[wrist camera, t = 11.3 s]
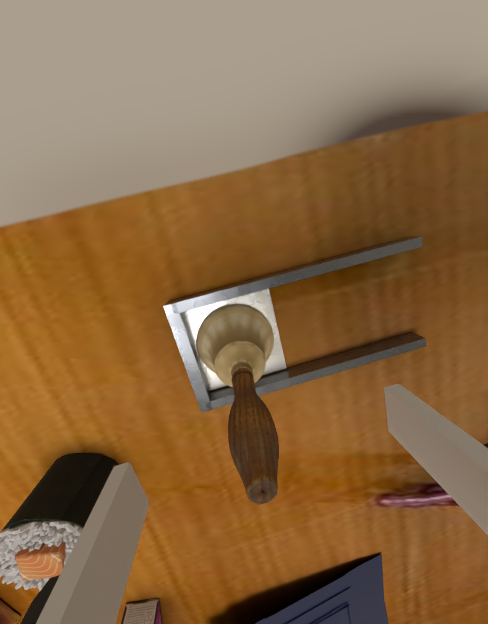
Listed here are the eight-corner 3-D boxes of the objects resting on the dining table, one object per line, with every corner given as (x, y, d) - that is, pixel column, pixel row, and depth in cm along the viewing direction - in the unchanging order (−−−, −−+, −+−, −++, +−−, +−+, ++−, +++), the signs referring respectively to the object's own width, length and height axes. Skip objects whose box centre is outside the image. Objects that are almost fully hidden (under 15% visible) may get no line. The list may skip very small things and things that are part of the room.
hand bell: (234, 390, 26) (261, 587, 11) (179, 342, 24) (114, 505, 9) (288, 341, 25) (400, 478, 10) (237, 287, 23) (279, 357, 8)
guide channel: (411, 339, 28) (425, 346, 26) (202, 400, 26) (201, 412, 24) (406, 237, 24) (422, 236, 22) (167, 301, 23) (163, 306, 21)
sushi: (43, 453, 26) (-30, 539, 18) (123, 451, 27) (86, 531, 19) (52, 508, 28) (-10, 607, 20) (126, 504, 29) (94, 596, 21)
